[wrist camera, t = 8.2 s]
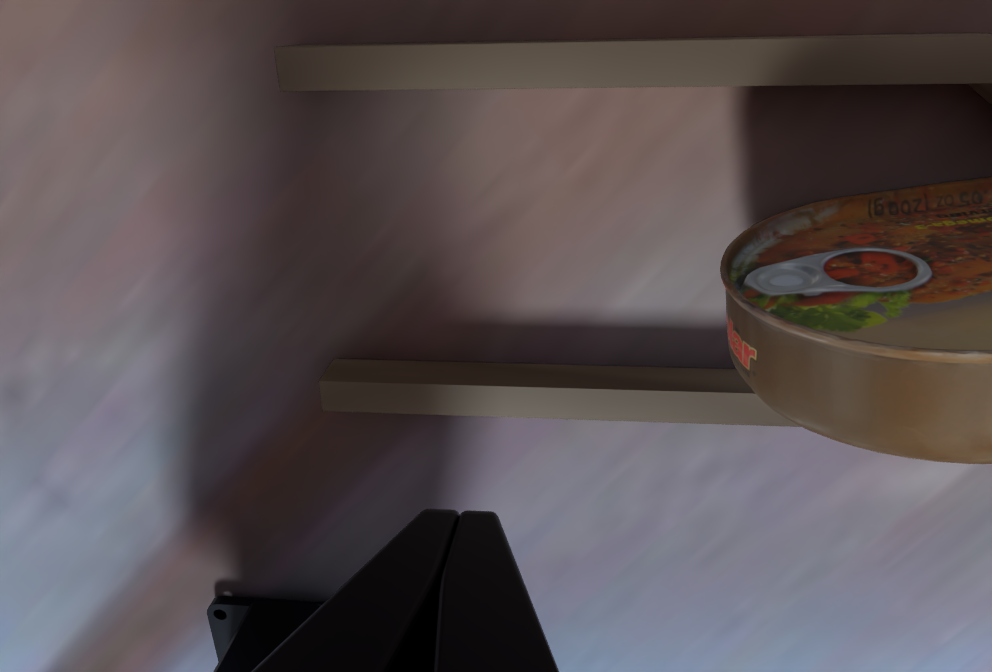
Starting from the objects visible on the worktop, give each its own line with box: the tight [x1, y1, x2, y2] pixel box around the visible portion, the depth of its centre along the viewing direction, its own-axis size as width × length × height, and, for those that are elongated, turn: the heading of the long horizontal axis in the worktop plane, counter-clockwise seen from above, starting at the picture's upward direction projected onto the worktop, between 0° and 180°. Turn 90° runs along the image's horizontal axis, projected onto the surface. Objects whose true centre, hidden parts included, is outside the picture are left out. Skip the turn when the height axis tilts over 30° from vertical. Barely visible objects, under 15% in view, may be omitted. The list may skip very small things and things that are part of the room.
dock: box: [274, 33, 992, 427], centre depth 18 cm, size 10×27×3 cm, turn 91°
